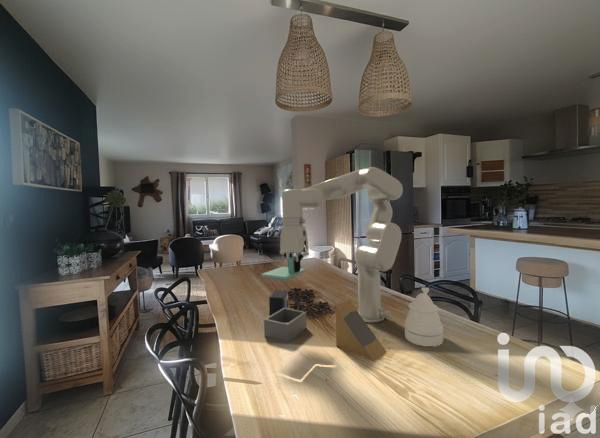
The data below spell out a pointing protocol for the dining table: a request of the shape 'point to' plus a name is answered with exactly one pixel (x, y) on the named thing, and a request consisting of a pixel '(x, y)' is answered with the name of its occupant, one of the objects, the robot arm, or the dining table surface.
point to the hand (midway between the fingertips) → (294, 270)
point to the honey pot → (423, 321)
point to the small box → (278, 301)
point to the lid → (284, 271)
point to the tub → (282, 330)
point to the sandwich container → (355, 333)
